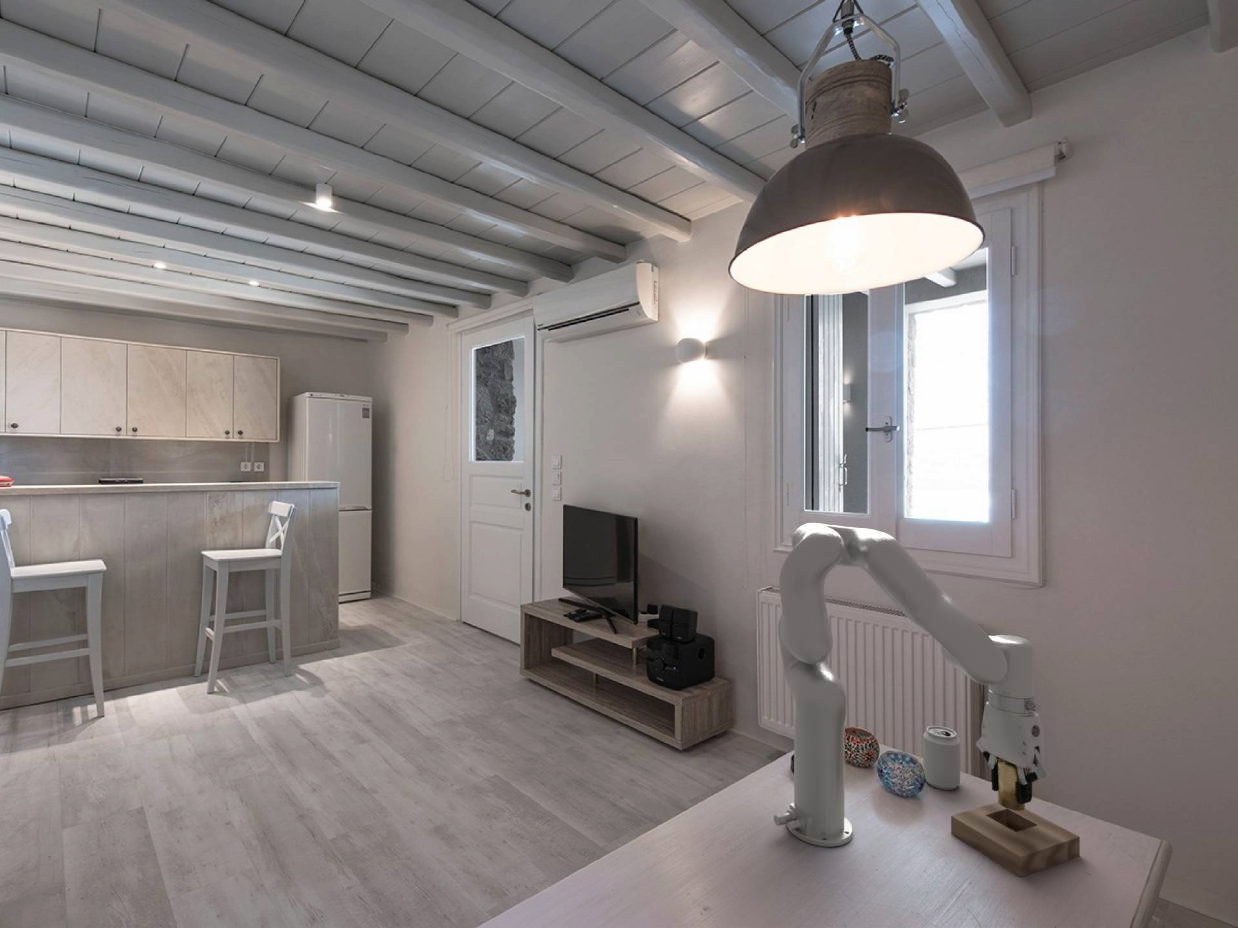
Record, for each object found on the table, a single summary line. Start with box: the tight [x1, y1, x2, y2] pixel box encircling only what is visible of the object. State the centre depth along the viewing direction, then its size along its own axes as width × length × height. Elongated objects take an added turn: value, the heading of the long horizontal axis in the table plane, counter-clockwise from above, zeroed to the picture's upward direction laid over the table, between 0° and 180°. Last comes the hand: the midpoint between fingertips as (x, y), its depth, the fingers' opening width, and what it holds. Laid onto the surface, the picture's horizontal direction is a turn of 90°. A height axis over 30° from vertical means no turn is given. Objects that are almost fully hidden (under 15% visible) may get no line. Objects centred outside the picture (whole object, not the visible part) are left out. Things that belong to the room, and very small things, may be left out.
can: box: [922, 725, 961, 791], centre depth 141 cm, size 8×8×12 cm
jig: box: [950, 801, 1081, 878], centre depth 118 cm, size 16×14×4 cm
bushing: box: [997, 758, 1026, 811], centre depth 120 cm, size 4×4×8 cm
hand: (1011, 794), depth 120 cm, fingers closed on bushing, 4 cm apart
